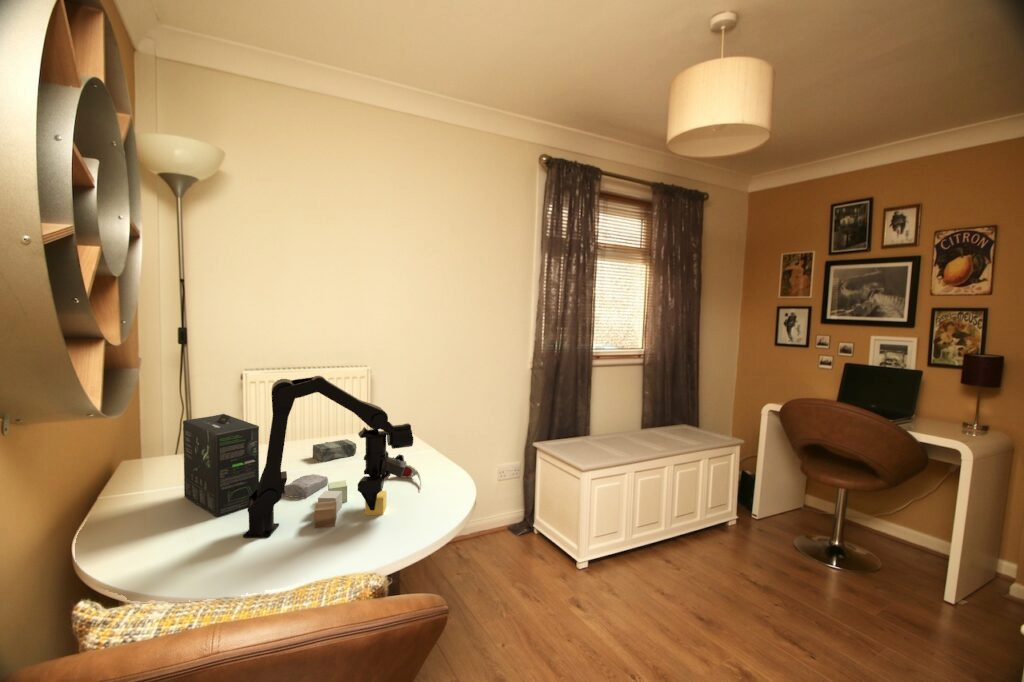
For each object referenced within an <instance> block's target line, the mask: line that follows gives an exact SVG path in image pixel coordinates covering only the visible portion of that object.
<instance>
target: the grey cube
mask: <svg viewBox="0 0 1024 682" xmlns="http://www.w3.org/2000/svg"><path fill="white" fill-rule="evenodd" d="M331 501H337V514H339V512H340V511H341V509H342V508H343V503H342V491H328V490H324V491H323V492H322V493H321V494H320V495H319V496H318V497H317V503H320V502H331Z"/></svg>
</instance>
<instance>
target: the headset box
mask: <svg viewBox="0 0 1024 682" xmlns="http://www.w3.org/2000/svg"><path fill="white" fill-rule="evenodd" d="M182 430H183V439H182V441H183V477H184V478H183V492H184V493H183V495H184V498H186V499H188V500H190V501H191V502H193V503H194V504H195V505H197V506H199V507H200V508H202V509H204V510H205V511H207V512H208V513H210V514H211V515H213V516H215V517H216V518H221V517H223V516H227V515H230V514H233V513H236V512H239V511H242V510H245V509H248V501H249V497H250V496H251V495H252V494H253V493H254V492H255V491H256V490H257V489H258V484H259V481H260V451H259V450H260V448H259V447H260V445H259V444H260V441H259V440H260V426H259V425H257V424H254V423H250V422H248V421H245V420H243V419H240V418H238V417H233V416H231V415H229V414H225V413H221V414H215V415H211V416H205V417H204V416H203V417H198V418H191V419H185V420H182Z"/></svg>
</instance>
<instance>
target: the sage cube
mask: <svg viewBox="0 0 1024 682" xmlns="http://www.w3.org/2000/svg"><path fill="white" fill-rule="evenodd" d="M347 484H348V483H347V481H346V480H338V481H331V482H330V481H329V482H328V484H327V486H328V490H327V491H342V504H344V503H347V502H348V485H347Z"/></svg>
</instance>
